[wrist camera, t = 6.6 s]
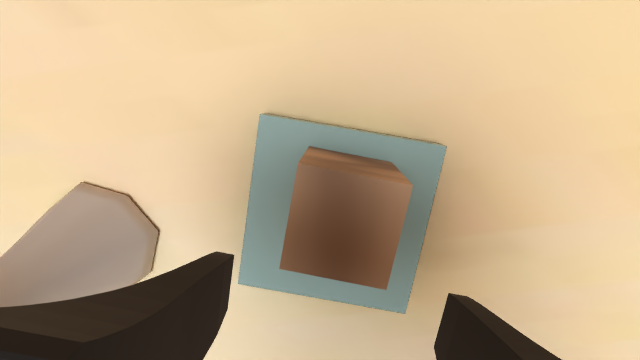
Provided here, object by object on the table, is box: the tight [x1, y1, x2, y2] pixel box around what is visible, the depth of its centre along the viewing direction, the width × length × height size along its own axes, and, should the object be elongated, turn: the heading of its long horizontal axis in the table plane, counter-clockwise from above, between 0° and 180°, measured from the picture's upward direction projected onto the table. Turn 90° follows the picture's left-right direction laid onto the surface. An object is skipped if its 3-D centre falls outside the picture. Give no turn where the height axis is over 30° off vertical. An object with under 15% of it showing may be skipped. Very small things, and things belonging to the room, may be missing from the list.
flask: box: [0, 182, 159, 307], centre depth 18 cm, size 7×7×10 cm
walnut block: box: [279, 146, 413, 290], centre depth 17 cm, size 4×4×6 cm
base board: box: [238, 113, 447, 314], centre depth 20 cm, size 10×10×2 cm
